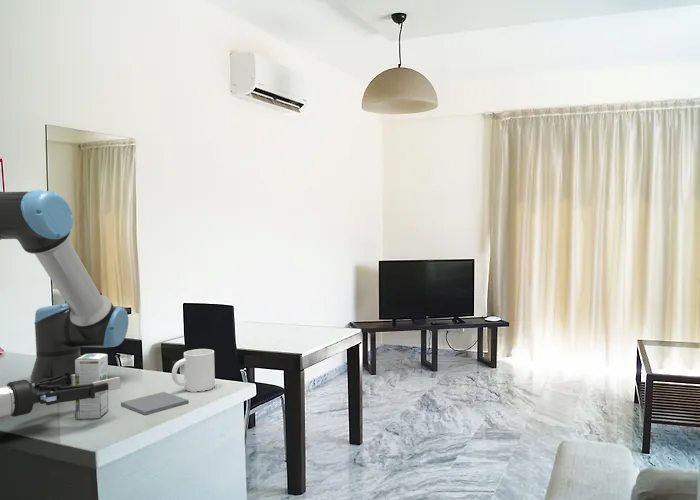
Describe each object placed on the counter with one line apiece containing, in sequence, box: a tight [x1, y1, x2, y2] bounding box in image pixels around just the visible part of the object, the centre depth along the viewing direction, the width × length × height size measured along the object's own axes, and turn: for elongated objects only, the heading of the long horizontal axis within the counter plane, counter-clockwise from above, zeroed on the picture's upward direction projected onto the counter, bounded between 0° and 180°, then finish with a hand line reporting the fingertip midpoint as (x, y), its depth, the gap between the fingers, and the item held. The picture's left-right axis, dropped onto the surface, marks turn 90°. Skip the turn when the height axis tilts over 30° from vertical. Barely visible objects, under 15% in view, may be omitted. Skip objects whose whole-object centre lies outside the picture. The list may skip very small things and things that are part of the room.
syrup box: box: [75, 352, 109, 420], centre depth 135 cm, size 6×6×14 cm
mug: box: [171, 348, 216, 393], centre depth 156 cm, size 12×8×10 cm
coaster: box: [120, 391, 190, 416], centre depth 143 cm, size 12×12×1 cm
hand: (108, 378), depth 138 cm, fingers open, 10 cm apart
